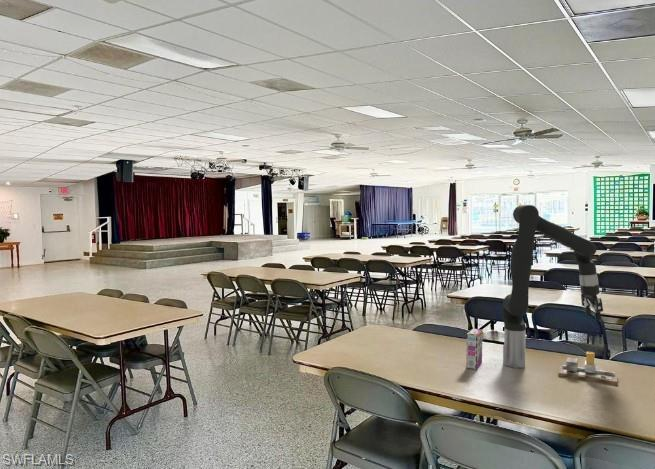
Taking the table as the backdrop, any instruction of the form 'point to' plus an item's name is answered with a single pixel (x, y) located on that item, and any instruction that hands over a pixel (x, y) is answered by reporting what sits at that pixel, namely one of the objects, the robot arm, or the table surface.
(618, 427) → the table surface
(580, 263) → the robot arm
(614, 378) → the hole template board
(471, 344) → the candy bar box
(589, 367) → the block
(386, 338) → the table surface
